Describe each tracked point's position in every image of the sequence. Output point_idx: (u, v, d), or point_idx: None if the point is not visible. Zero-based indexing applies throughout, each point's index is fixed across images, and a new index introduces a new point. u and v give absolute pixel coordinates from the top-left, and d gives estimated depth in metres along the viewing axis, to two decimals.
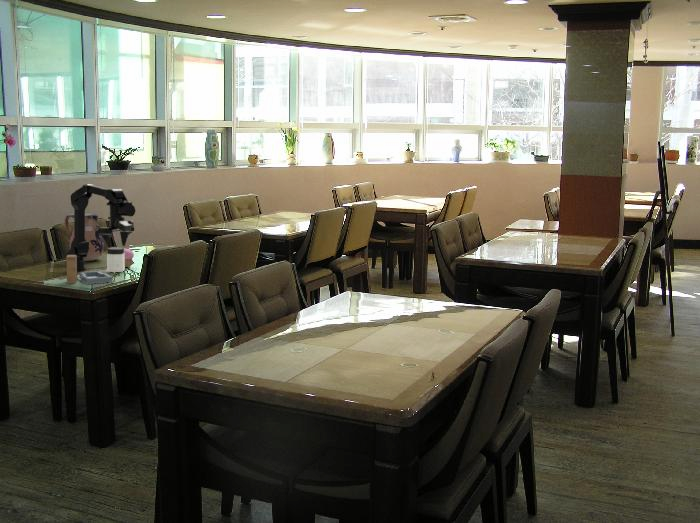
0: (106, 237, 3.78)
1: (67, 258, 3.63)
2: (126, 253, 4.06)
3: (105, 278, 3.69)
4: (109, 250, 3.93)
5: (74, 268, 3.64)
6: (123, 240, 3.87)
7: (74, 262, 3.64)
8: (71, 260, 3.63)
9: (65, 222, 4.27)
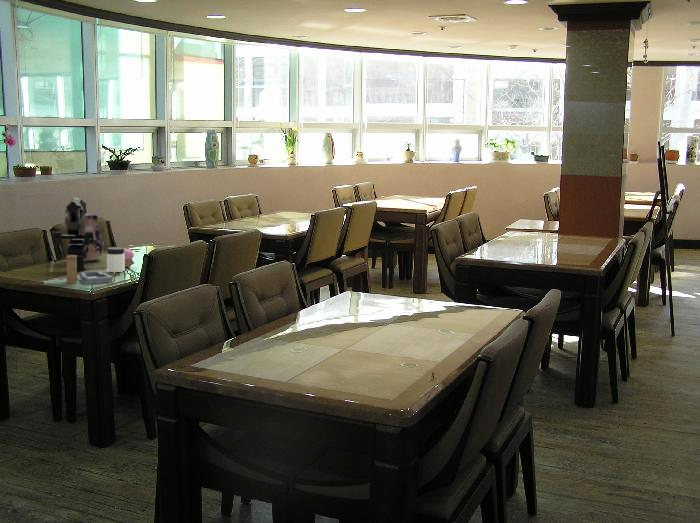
0: (60, 243, 3.75)
1: (67, 258, 3.63)
2: (126, 253, 4.06)
3: (105, 278, 3.69)
4: (109, 250, 3.93)
5: (74, 268, 3.64)
6: (83, 247, 3.76)
7: (74, 262, 3.64)
8: (71, 260, 3.63)
9: (65, 222, 4.27)
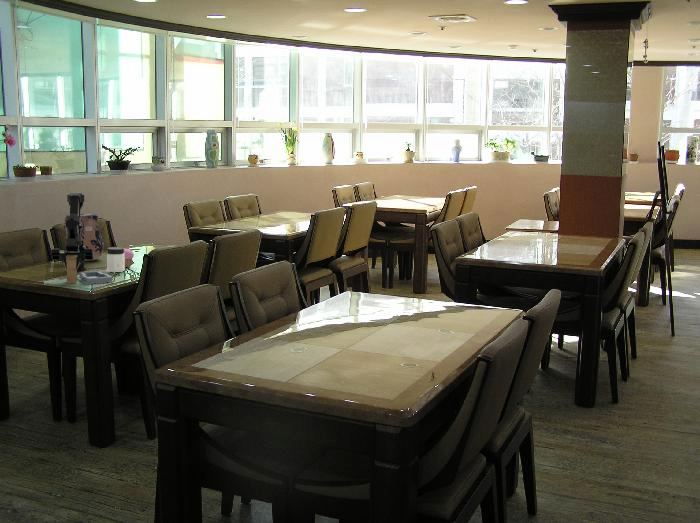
0: None
1: (67, 258, 3.63)
2: (126, 253, 4.06)
3: (105, 278, 3.69)
4: (109, 250, 3.93)
5: (74, 268, 3.64)
6: (76, 264, 3.67)
7: (74, 262, 3.64)
8: (71, 260, 3.63)
9: None
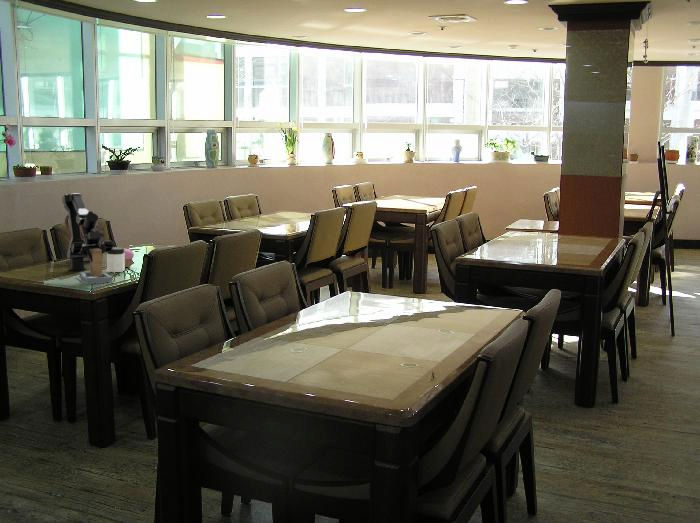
0: (86, 253, 3.71)
1: (94, 252, 3.67)
2: (126, 253, 4.06)
3: (105, 278, 3.69)
4: None
5: (100, 261, 3.70)
6: None
7: (100, 255, 3.69)
8: (98, 253, 3.69)
9: (65, 222, 4.27)
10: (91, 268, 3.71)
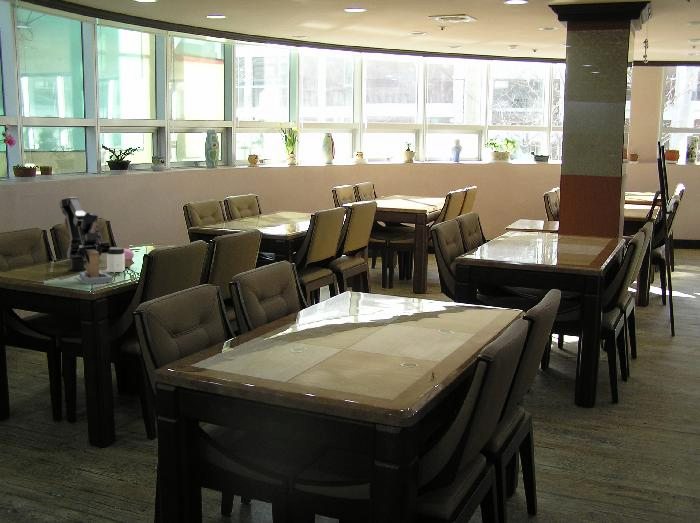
0: (83, 254, 3.76)
1: (91, 254, 3.72)
2: (126, 253, 4.06)
3: (105, 278, 3.69)
4: (109, 250, 3.93)
5: (97, 263, 3.74)
6: None
7: (97, 257, 3.74)
8: (95, 255, 3.73)
9: (65, 222, 4.27)
10: (88, 270, 3.76)
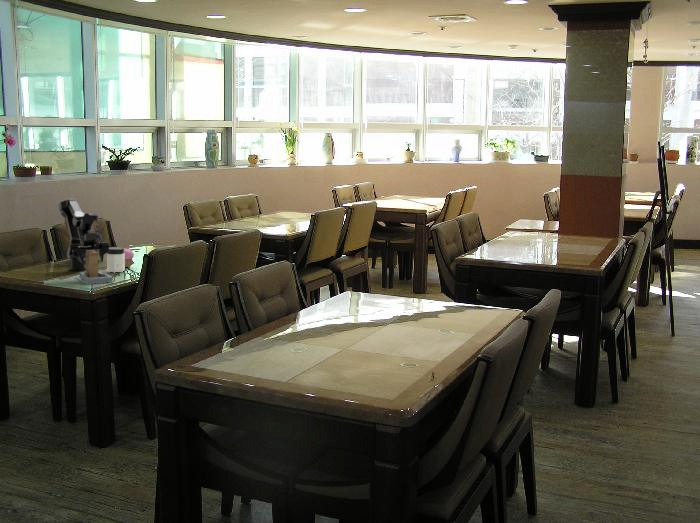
0: (77, 255, 3.76)
1: (90, 254, 3.73)
2: (126, 253, 4.06)
3: (105, 278, 3.69)
4: (109, 250, 3.93)
5: (96, 263, 3.76)
6: (101, 257, 3.80)
7: (96, 257, 3.75)
8: (94, 255, 3.74)
9: (65, 222, 4.27)
10: (87, 270, 3.77)
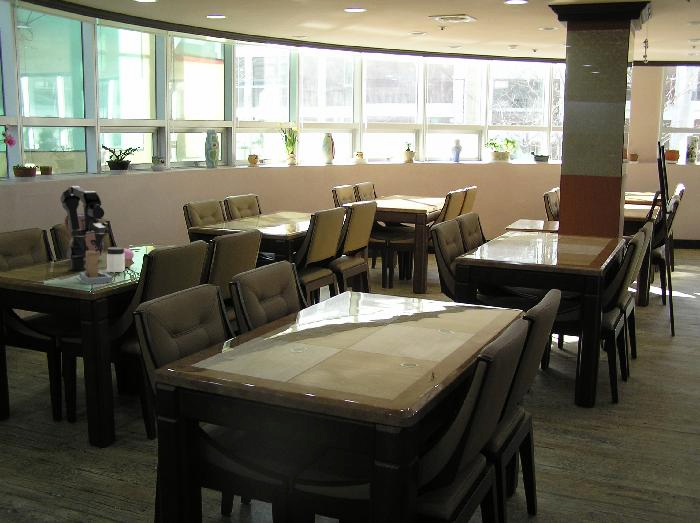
0: (80, 239, 3.79)
1: (90, 254, 3.73)
2: (126, 253, 4.06)
3: (105, 278, 3.69)
4: (109, 250, 3.93)
5: (96, 263, 3.76)
6: (98, 242, 3.88)
7: (96, 257, 3.75)
8: (94, 255, 3.74)
9: (65, 222, 4.27)
10: (87, 270, 3.77)
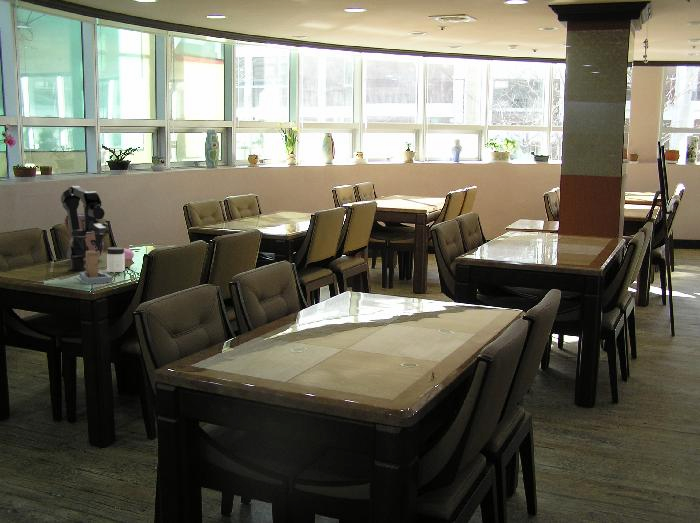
0: (80, 239, 3.79)
1: (90, 254, 3.73)
2: (126, 253, 4.06)
3: (105, 278, 3.69)
4: (109, 250, 3.93)
5: (96, 263, 3.76)
6: (98, 242, 3.88)
7: (96, 257, 3.75)
8: (94, 255, 3.74)
9: (65, 222, 4.27)
10: (87, 270, 3.77)
